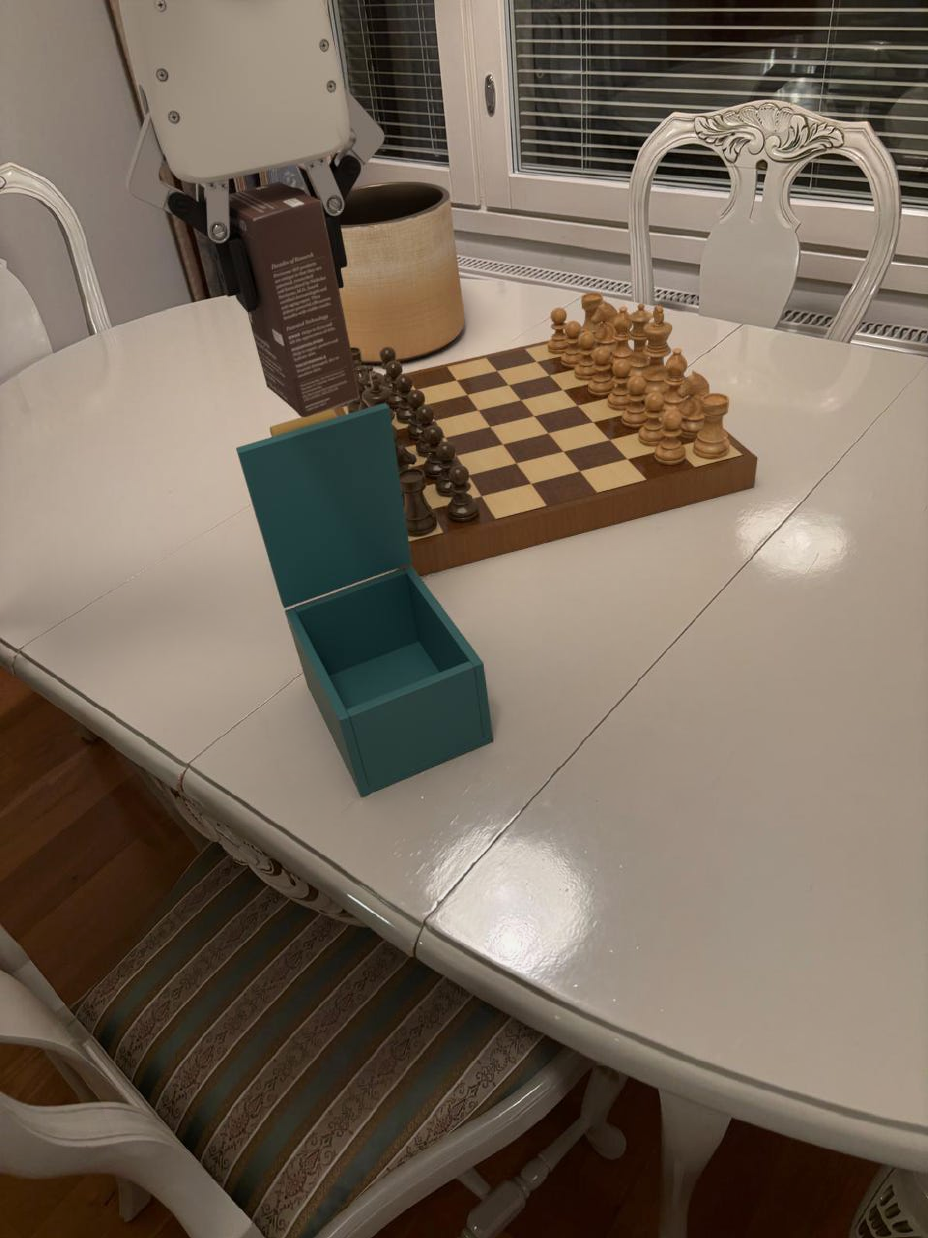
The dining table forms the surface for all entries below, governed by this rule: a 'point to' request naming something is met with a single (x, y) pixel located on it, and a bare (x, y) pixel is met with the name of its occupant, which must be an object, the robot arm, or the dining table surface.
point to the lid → (328, 501)
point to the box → (295, 298)
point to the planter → (400, 270)
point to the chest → (391, 678)
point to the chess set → (551, 437)
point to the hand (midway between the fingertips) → (289, 290)
